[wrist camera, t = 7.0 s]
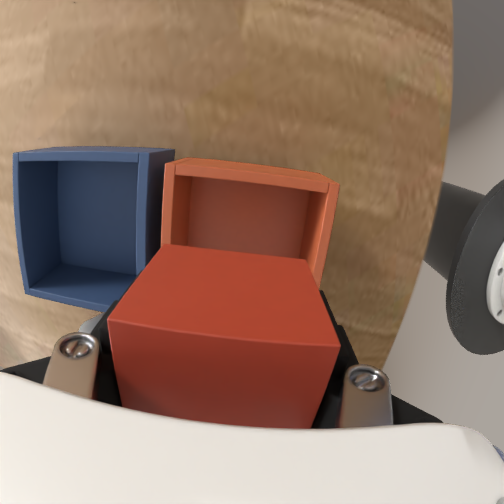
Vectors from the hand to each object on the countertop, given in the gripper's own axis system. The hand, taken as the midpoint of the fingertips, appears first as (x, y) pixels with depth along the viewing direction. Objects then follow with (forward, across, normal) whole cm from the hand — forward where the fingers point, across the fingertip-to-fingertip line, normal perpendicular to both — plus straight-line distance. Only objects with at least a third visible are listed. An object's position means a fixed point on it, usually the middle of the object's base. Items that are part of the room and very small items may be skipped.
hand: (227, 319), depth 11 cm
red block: (0, 0, 0) cm, 0 cm away
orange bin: (+12, 0, 0) cm, 12 cm away
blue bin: (+12, +10, 0) cm, 16 cm away
